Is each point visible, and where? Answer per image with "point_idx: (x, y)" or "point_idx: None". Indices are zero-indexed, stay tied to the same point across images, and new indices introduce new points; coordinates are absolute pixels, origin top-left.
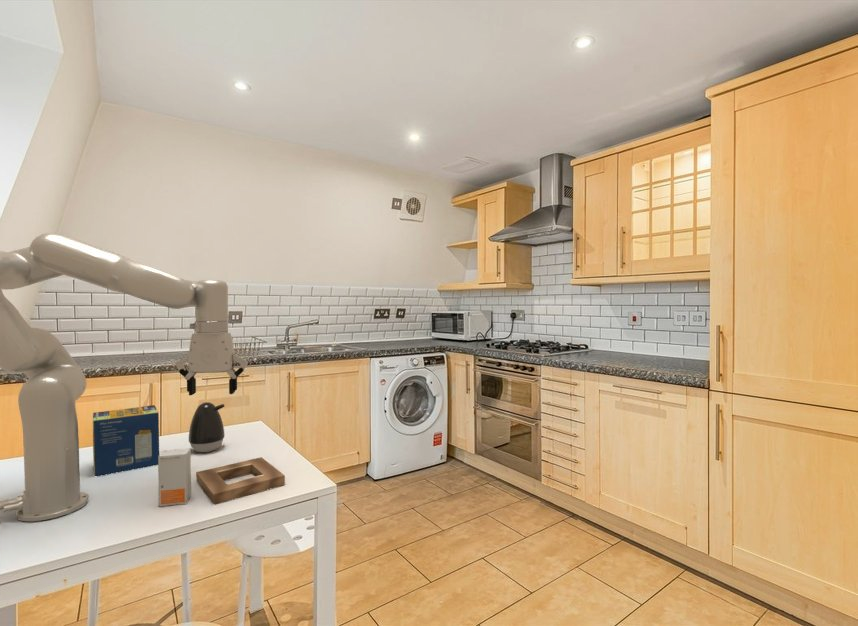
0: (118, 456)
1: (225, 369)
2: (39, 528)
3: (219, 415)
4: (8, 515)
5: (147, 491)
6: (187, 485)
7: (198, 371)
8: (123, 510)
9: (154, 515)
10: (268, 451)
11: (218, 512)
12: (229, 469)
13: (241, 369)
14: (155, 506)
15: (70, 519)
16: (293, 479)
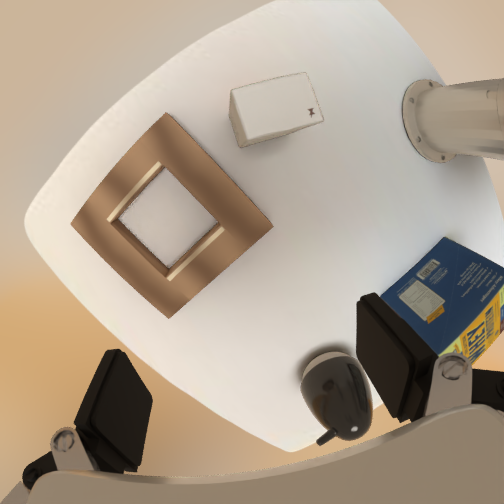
0: (440, 266)
1: (50, 483)
2: (406, 60)
3: (321, 422)
4: None
5: (342, 172)
6: (231, 116)
7: (391, 444)
8: (334, 94)
9: (264, 72)
10: (200, 372)
11: (146, 90)
12: (200, 245)
13: (26, 478)
14: None
15: (390, 78)
16: (77, 246)
